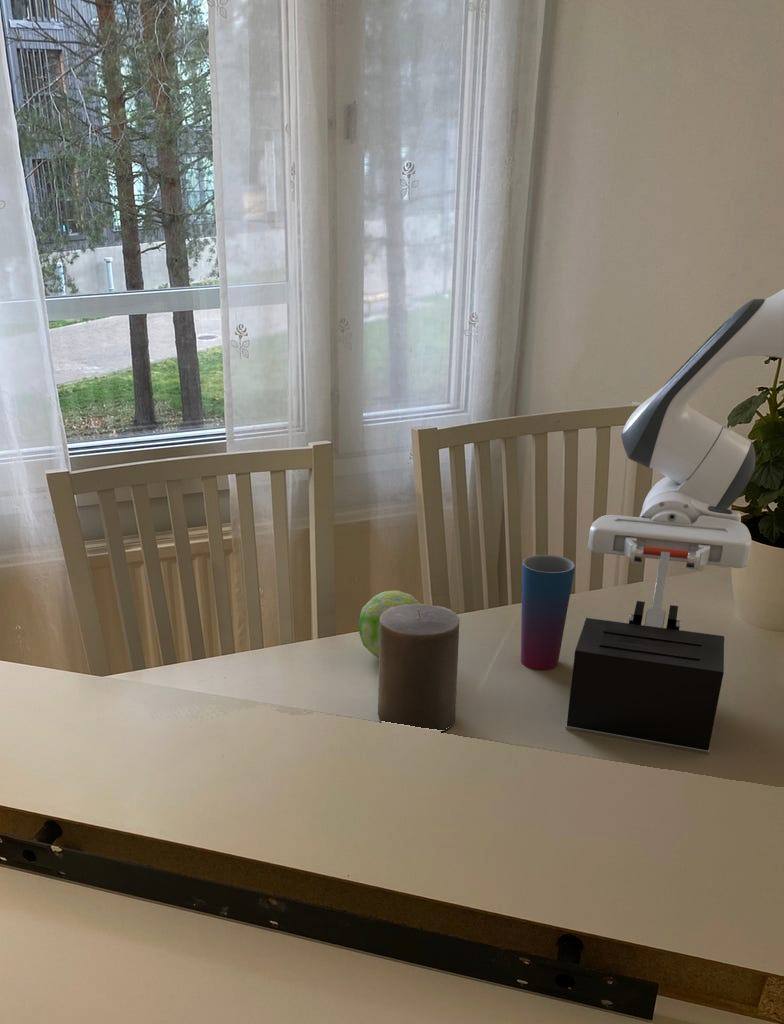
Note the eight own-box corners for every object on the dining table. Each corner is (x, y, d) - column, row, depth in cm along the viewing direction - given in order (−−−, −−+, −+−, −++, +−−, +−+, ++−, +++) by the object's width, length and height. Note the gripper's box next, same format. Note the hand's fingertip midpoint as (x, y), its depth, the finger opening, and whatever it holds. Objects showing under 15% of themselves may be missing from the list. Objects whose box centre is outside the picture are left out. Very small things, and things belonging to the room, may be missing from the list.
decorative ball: (441, 660, 129) (444, 595, 125) (387, 680, 124) (388, 613, 120) (397, 636, 137) (398, 574, 132) (343, 654, 132) (343, 590, 127)
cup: (505, 657, 129) (512, 558, 123) (547, 650, 131) (557, 552, 125) (530, 678, 124) (539, 575, 117) (573, 670, 125) (585, 568, 119)
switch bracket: (614, 677, 123) (625, 596, 118) (677, 686, 120) (691, 605, 115) (609, 697, 118) (620, 614, 113) (675, 708, 115) (689, 623, 110)
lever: (643, 550, 120) (644, 542, 118) (688, 555, 118) (689, 546, 116) (629, 633, 117) (630, 626, 115) (675, 639, 115) (676, 632, 113)
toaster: (709, 715, 114) (725, 634, 109) (708, 757, 105) (725, 671, 100) (576, 693, 120) (585, 616, 115) (564, 731, 111) (574, 649, 106)
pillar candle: (427, 746, 109) (431, 632, 102) (362, 720, 115) (362, 611, 108) (470, 713, 116) (476, 605, 109) (406, 691, 121) (409, 586, 115)
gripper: (596, 499, 130) (583, 528, 119) (753, 513, 123) (755, 545, 112) (591, 540, 133) (578, 573, 122) (744, 557, 126) (745, 593, 114)
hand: (664, 560), depth 117 cm, fingers closed on lever, 5 cm apart
